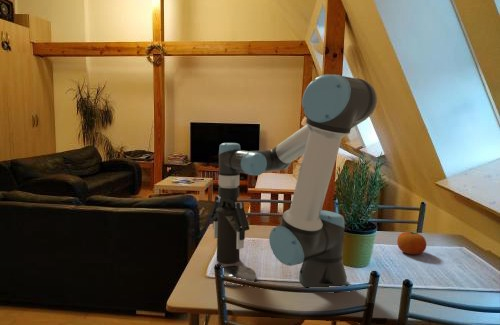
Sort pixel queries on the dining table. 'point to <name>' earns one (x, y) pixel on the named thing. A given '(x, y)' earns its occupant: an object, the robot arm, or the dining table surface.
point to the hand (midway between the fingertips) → (228, 242)
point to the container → (227, 236)
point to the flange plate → (239, 273)
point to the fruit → (411, 243)
